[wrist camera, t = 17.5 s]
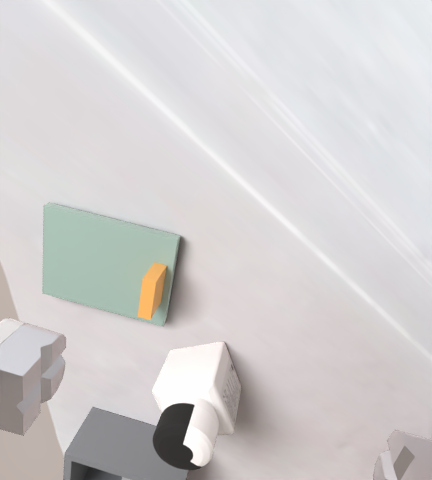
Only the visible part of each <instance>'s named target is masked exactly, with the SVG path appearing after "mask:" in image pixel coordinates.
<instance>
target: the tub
mask: <svg viewBox="0 0 432 480" xmlns="http://www.w3.org/2000/svg"><path fill="white" fill-rule="evenodd" d="M156 427H157V426H154V425H151V424H147V423H144V422H141V421H137V420H134V419H131V418H127V417H124V416H121V415H118V414H114V413H111V412H108V411H104V410H101V409H98V408H94V407H92V409H91V411H90V412H89V414H88V416H87V417H86V419H85V421H84V422H83V424H82V426H81V427H80V429H79V431H78V432H77V434H76V436H75V437H74V439H73V441H72V442H71V444H70V446H69V447H68V449H67V450H66V452H65V457H64V476H63V480H186V479H187V475H188V471H189V470H183V469H178V468H175V467H173V466H171V465H169V464H167V463H166V462H164V461H163V460H162V459H161V458H160V457H159V456H158V454H157V453H156V451H155V449H154V446H153V435H154V432H155V430H156Z"/></svg>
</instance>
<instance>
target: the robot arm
mask: <svg viewBox="0 0 432 480" xmlns="http://www.w3.org/2000/svg"><path fill="white" fill-rule="evenodd" d="M65 348H66V337H65V336H64V335H63V334H60V333H57V332H54V331H50V330H47V329H44V328H41V327H38V326H35V325H31V324H28V323H27V324H26V323H23V322H20V321H17V320H14V319H11V318H7V319H4V320H2V321H1V322H0V429H2V430H5V431H8V432H12V433H16V434H19V435H23V436H24V434H25V433H26V431H27V430H28V429H29V427H30V426H31V425H32V423H33V422H34V421H35V419H36V418H37V417H38V416H39V414H40V404H41V403H43V402H45V401H48V400H50V399H51V398H52V397H53V395H54V394H55V392H56V391H57V389H58V387H59V385H60V383H61V381H62V379H63V375H64V371H65V360H64V359H63V357H62V355H61V353H62V352H63V351H64V350H65ZM387 442H388V447H389V450H387V451H385V452H383V453H381V454H380V455H379V457H378V459H377V461H376V463H375V468H374V474H373V480H432V440H431V439H427V438H424V437H420V436H417V435H413V434H409V433H406V432H402V431H399V430H395V431H394V432H392V433H391V435H390V436H389V438H388V440H387Z"/></svg>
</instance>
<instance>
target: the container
mask: <svg viewBox="0 0 432 480" xmlns="http://www.w3.org/2000/svg"><path fill="white" fill-rule="evenodd" d="M152 393H153V395H154V397H155V399H156V402H157V404H158V406H159V408H160V410H161V412H162V414H161V417H160V419H159V422H158V424H157V427H156V430H155V432H154V435H153V446H154V449H155V451H156V453H157V454H158V456H159V457H160V458H161V459H162V460H163V461H164V462H166V463H167V464H169V465H171V466H173V467H175V468H178V469H183V470H194V469H198V468H201V467H203V466H204V465H206V464H207V463H208V462H209V461H210V460H211V458H212V456H213V452H214V447H215V442H216V438H217V435H228V434H233V432H234V428H235V422H236V417H237V411H238V405H239V399H240V394H241V385H240V382H239V379H238V377H237V374H236V371H235V369H234V366H233V363H232V361H231V358H230V355H229V352H228V350H227V347H226V344H225V343H224V342H223V341H221V342H215V343H209V344H203V345H197V346H191V347H185V348H179V349H173V350H170V352H169V354H168V356H167V358H166V361H165V363H164V365H163V367H162V370H161V372H160V374H159V376H158V379H157V381H156V383H155V385H154V387H153V390H152Z"/></svg>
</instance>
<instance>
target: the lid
mask: <svg viewBox="0 0 432 480" xmlns="http://www.w3.org/2000/svg"><path fill="white" fill-rule="evenodd" d="M179 242H180V235H176V234H172V233H168V232H164V231H160V230H156V229H152V228H148V227H144V226H140V225H136V224H132V223H128V222H124V221H120V220H116V219H113V218H109V217H105V216H101V215H97V214H93V213H89V212H85V211H81V210H77V209H73V208H69V207H65V206H61V205H57V204H53V203H48V204H46V205H44V216H43V294H47V295H50V296H54V297H57V298H61V299H65V300H68V301H72V302H76V303H79V304H83V305H87V306H90V307H94V308H98V309H101V310H105V311H109V312H112V313H116V314H119V315H123V316H127V317H130V318H134V319H138V320H141V321H145V322H149V323H152V324H156V325H160V326H164V324H165V322H166V319H167V313H168V307H169V301H170V295H171V289H172V283H173V277H174V271H175V265H176V259H177V253H178V248H179Z"/></svg>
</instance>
